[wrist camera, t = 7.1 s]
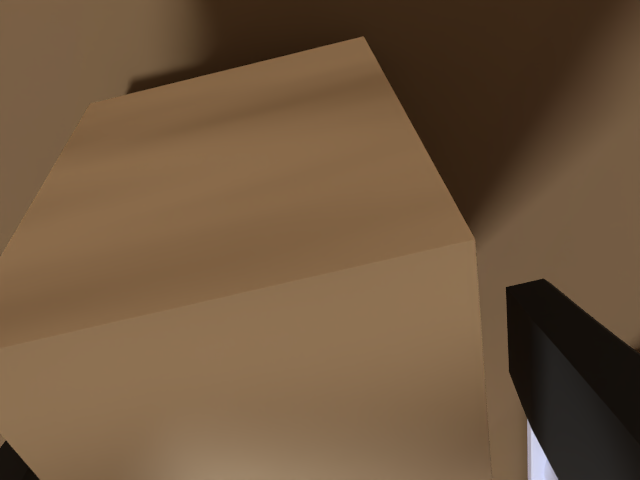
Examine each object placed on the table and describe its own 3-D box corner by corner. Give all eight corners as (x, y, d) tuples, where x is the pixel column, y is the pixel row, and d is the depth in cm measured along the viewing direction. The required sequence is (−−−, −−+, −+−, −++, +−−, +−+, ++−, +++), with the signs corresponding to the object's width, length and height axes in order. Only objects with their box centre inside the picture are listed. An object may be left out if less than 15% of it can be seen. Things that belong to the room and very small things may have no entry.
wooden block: (423, 391, 14) (504, 658, 9) (243, 430, 14) (239, 710, 10) (363, 36, 9) (474, 238, 5) (89, 103, 9) (-62, 362, 5)
